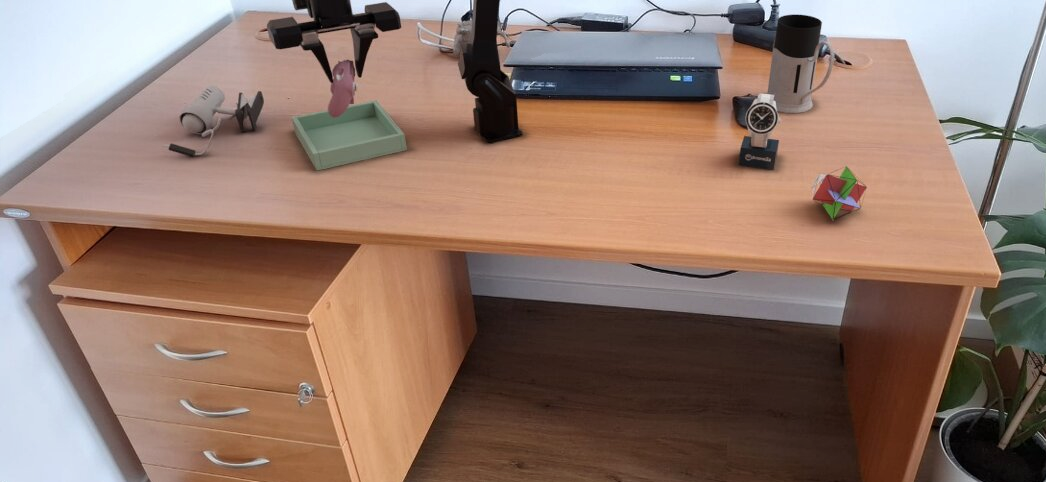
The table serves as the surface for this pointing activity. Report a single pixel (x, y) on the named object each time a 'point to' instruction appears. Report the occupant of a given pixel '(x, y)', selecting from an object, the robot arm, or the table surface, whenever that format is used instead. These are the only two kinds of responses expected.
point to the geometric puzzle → (838, 192)
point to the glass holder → (796, 62)
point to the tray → (348, 135)
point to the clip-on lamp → (204, 108)
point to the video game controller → (342, 88)
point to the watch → (760, 134)
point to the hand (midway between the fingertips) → (345, 79)
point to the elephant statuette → (465, 32)
